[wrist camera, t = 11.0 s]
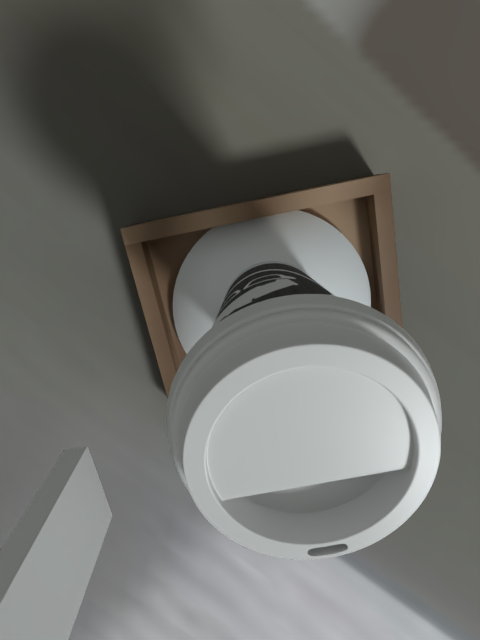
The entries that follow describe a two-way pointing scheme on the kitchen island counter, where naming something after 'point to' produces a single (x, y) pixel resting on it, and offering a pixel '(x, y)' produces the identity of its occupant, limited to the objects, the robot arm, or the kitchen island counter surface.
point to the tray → (323, 202)
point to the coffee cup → (303, 419)
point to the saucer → (256, 249)
